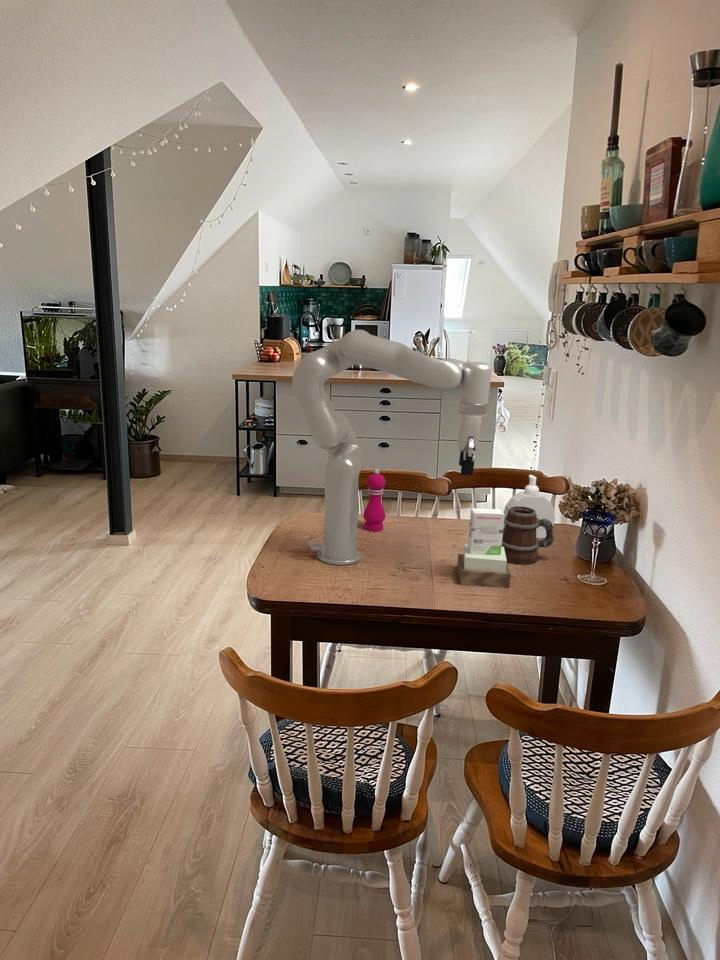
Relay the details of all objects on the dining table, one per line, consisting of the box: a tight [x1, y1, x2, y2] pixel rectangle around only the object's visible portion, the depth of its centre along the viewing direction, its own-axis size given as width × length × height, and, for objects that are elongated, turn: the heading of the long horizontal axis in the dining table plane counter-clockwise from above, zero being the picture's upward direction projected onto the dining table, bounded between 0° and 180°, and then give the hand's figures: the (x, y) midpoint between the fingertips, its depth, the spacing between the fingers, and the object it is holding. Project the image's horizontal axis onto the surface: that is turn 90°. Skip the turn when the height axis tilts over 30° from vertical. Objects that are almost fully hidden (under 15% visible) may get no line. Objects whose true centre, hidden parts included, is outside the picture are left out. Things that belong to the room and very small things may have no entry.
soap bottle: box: [503, 474, 556, 539], centre depth 238 cm, size 16×5×20 cm, turn 97°
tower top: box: [462, 543, 508, 573], centre depth 203 cm, size 11×11×4 cm
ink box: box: [467, 508, 505, 554], centre depth 201 cm, size 9×5×12 cm, turn 91°
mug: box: [502, 506, 555, 565], centre depth 218 cm, size 16×12×15 cm
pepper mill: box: [362, 468, 386, 532], centre depth 238 cm, size 7×7×20 cm
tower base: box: [456, 553, 511, 589], centre depth 204 cm, size 13×13×4 cm
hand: (465, 470), depth 202 cm, fingers open, 9 cm apart
